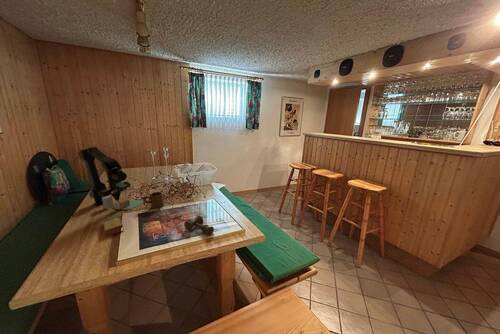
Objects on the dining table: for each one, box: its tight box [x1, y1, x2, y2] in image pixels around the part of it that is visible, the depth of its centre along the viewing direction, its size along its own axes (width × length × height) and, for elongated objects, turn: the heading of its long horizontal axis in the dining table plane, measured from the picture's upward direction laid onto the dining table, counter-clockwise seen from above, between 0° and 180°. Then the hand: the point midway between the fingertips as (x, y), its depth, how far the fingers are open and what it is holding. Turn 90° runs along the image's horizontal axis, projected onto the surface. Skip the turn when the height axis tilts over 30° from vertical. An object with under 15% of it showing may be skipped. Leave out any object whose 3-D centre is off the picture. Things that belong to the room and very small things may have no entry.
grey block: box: [102, 195, 114, 210], centre depth 132 cm, size 4×4×8 cm
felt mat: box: [124, 198, 145, 210], centre depth 138 cm, size 14×12×1 cm
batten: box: [112, 206, 129, 211], centre depth 131 cm, size 12×1×1 cm, turn 74°
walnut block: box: [113, 199, 130, 210], centre depth 132 cm, size 4×4×8 cm
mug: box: [142, 191, 164, 209], centre depth 132 cm, size 12×8×9 cm, turn 123°
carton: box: [102, 213, 124, 237], centre depth 110 cm, size 8×16×4 cm, turn 40°
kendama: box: [184, 215, 215, 237], centre depth 108 cm, size 6×10×20 cm
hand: (117, 200), depth 129 cm, fingers closed
